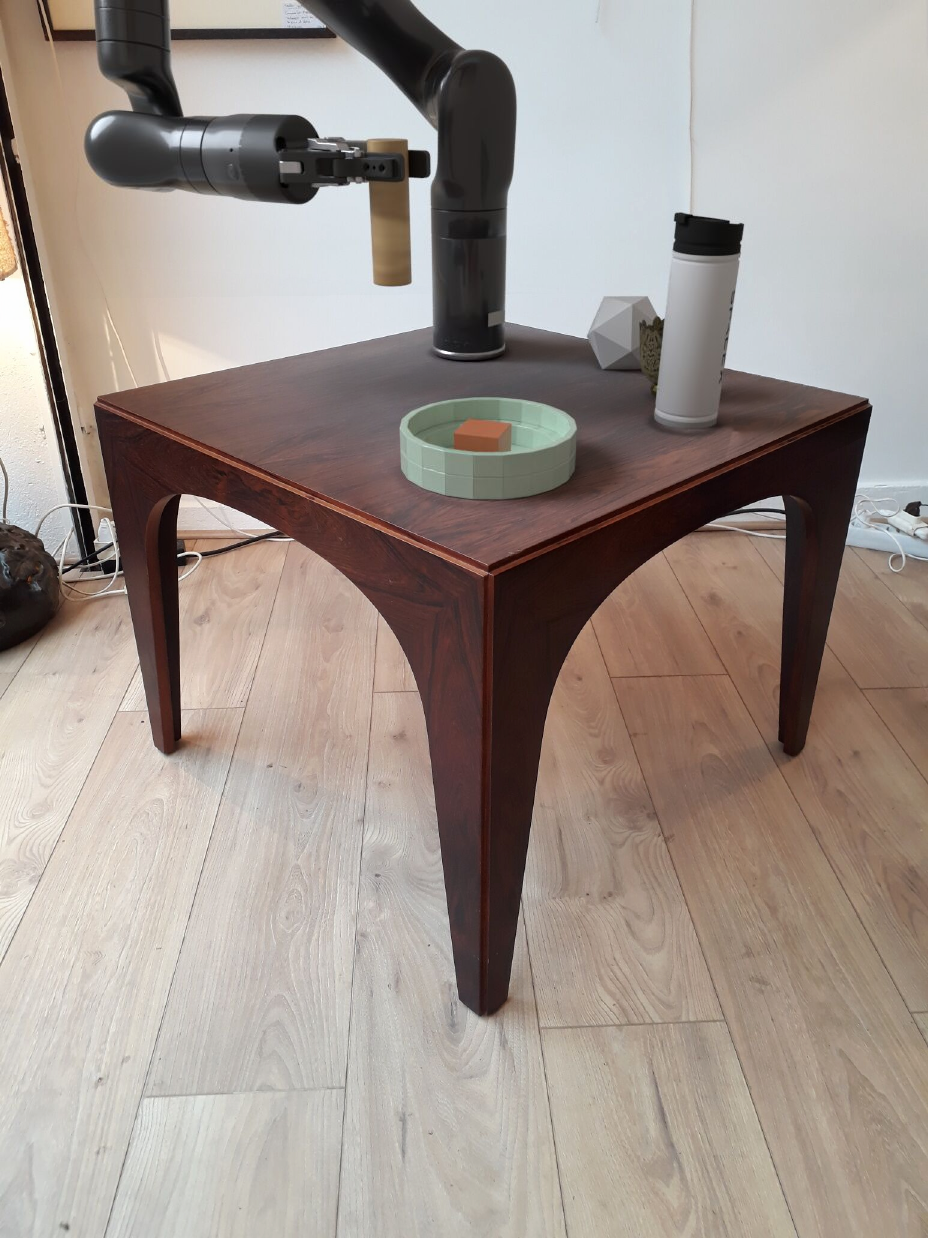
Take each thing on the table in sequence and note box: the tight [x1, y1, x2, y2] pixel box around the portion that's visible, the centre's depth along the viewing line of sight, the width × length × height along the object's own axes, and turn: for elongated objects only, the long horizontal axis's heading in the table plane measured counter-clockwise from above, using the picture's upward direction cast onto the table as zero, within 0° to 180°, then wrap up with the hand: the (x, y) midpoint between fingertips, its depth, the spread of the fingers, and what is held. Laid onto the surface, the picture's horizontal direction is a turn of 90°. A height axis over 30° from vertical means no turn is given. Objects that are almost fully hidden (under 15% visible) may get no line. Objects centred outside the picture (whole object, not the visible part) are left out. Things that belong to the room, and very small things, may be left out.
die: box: [586, 295, 658, 370], centre depth 110 cm, size 8×9×10 cm
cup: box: [639, 315, 665, 398], centre depth 99 cm, size 8×7×8 cm
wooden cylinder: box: [366, 137, 413, 288], centre depth 83 cm, size 4×4×12 cm
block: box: [454, 419, 512, 452], centre depth 79 cm, size 4×4×4 cm
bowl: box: [399, 396, 578, 501], centre depth 81 cm, size 15×15×4 cm
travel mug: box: [653, 212, 745, 430], centre depth 88 cm, size 6×7×20 cm
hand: (415, 166), depth 79 cm, fingers closed on wooden cylinder, 3 cm apart
